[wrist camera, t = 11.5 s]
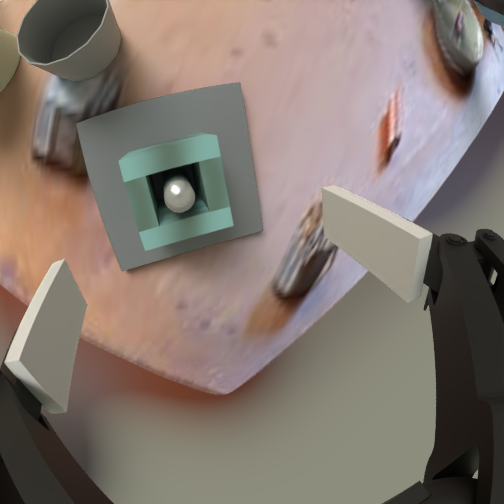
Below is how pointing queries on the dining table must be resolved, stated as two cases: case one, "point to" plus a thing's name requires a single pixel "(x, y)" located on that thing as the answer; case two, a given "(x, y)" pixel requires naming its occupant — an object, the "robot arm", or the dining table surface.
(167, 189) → the rod
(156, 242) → the bead
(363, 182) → the dining table surface
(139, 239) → the board
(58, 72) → the cup
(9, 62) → the can
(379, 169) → the dining table surface
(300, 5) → the dining table surface
